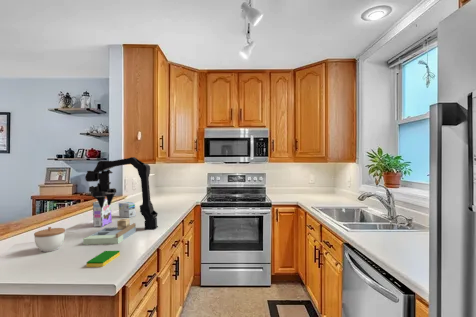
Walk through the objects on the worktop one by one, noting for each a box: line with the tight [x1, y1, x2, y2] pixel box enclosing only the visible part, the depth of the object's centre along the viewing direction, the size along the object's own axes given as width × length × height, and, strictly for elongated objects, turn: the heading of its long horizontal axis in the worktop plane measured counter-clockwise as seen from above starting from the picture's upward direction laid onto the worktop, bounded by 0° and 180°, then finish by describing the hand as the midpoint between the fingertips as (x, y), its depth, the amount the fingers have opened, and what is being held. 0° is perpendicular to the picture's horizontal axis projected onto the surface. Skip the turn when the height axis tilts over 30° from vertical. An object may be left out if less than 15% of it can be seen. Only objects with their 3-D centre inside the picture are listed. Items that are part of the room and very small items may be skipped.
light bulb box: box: [118, 201, 137, 219], centre depth 216 cm, size 11×7×11 cm, turn 65°
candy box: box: [92, 198, 113, 228], centre depth 191 cm, size 14×6×16 cm, turn 179°
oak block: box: [116, 218, 131, 230], centre depth 165 cm, size 5×5×5 cm
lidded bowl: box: [33, 226, 66, 253], centre depth 140 cm, size 13×13×11 cm
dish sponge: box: [86, 250, 121, 268], centre depth 121 cm, size 7×14×2 cm, turn 175°
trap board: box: [83, 222, 137, 246], centre depth 157 cm, size 18×23×5 cm
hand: (105, 206), depth 176 cm, fingers open, 9 cm apart
